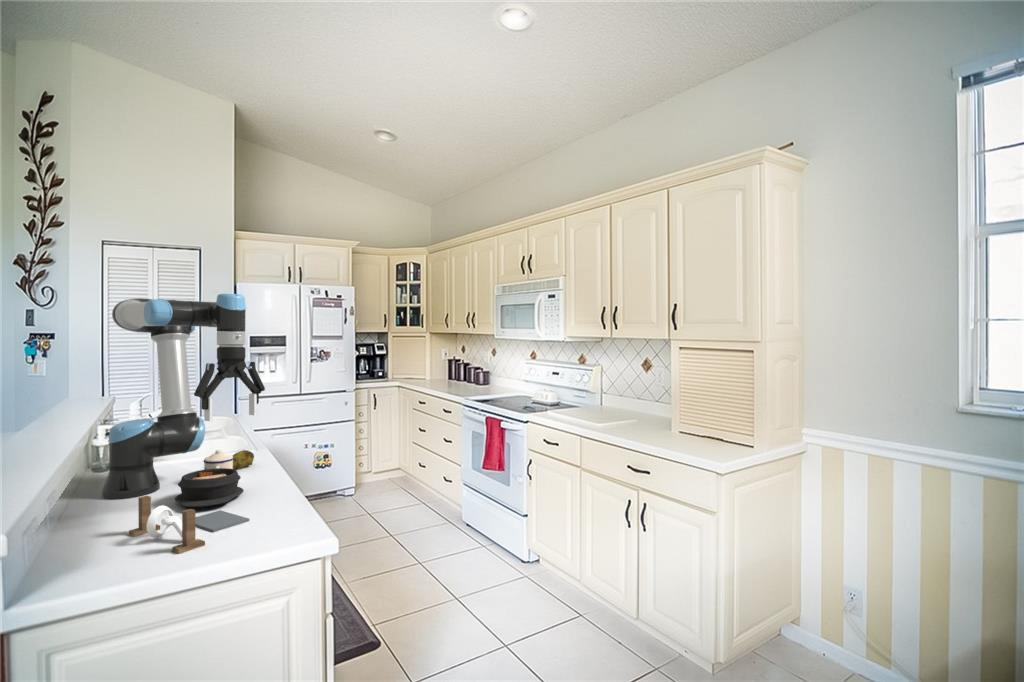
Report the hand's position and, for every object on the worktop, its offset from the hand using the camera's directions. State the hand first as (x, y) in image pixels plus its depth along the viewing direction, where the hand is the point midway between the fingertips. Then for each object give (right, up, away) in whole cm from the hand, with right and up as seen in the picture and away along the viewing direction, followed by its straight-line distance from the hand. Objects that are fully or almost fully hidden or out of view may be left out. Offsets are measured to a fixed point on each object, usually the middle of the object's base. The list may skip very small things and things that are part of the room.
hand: (231, 417), depth 157 cm
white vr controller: (-5, -27, -25) cm, 37 cm away
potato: (-21, -27, +41) cm, 54 cm away
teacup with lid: (-18, -27, +25) cm, 41 cm away
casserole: (-11, -27, +8) cm, 30 cm away
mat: (+2, -27, -12) cm, 29 cm away
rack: (-3, -27, -25) cm, 37 cm away
